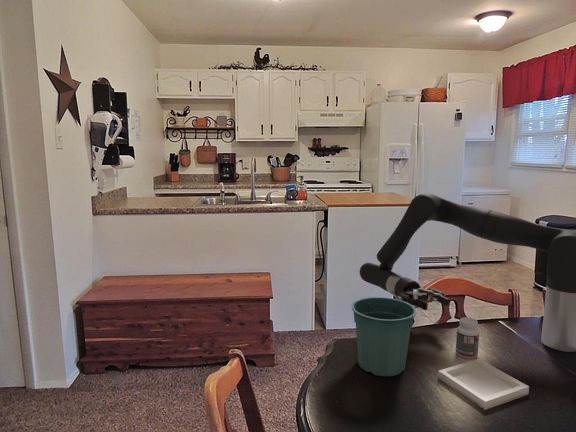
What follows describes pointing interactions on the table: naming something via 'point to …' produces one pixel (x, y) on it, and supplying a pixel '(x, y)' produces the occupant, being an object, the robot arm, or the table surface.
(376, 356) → the flower pot
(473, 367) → the tray
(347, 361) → the table surface
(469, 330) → the pill bottle
